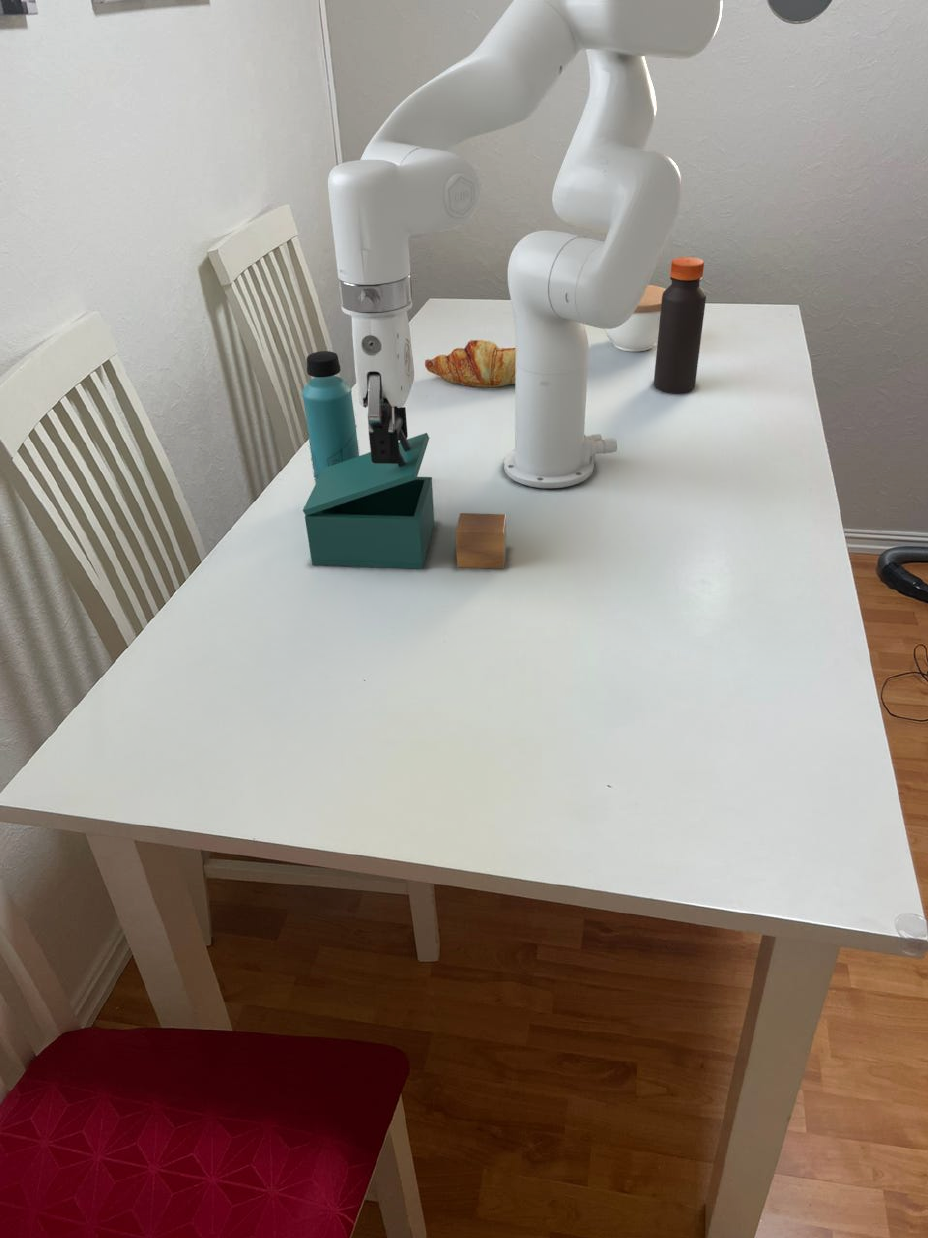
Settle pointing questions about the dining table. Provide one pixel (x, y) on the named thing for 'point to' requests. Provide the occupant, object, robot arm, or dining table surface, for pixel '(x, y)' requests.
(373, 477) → the lunchbox lid
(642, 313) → the lidded bowl
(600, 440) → the robot arm
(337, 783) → the dining table surface
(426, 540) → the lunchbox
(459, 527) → the block
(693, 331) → the vinegar
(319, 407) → the beverage bottle
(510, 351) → the croissant
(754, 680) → the dining table surface
